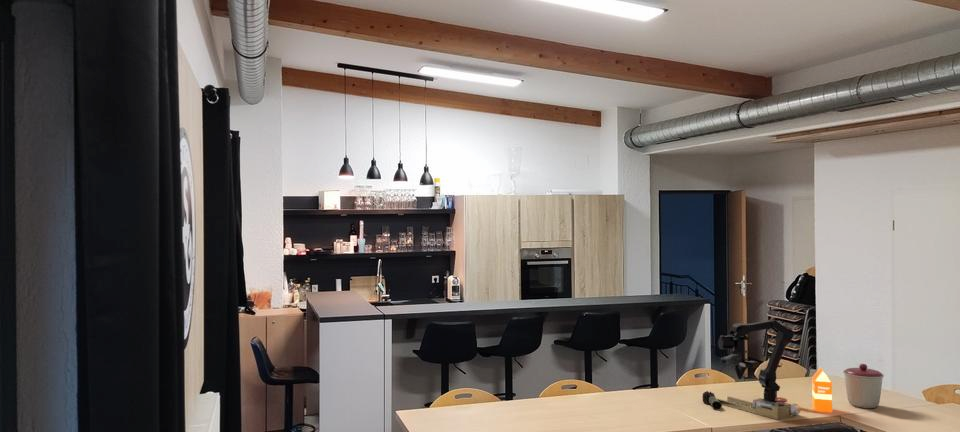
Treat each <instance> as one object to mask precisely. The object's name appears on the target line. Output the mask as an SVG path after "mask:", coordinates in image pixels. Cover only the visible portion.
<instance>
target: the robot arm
mask: <svg viewBox="0 0 960 432" xmlns="http://www.w3.org/2000/svg"><path fill="white" fill-rule="evenodd" d="M768 329H771V330H772V331H774V332H775V333H776V334H775V344H774V347H773V349H772V351H771V354H770V357H769V360H768V363H767V365H766V367H765V368H764V369H760V371H759V374H758V375H757V377H758V379H757V380H758V383H759V384H760V385H761V388H763V398H761V399H762V400H764V401H768V402H772V403H775V402H778V401H776V398H778V392H779V391H780V389H781V386H780V385H779V384H778V383H777V369H778V367H779V364H780V362H781V360H782V356H783V354H784V352H785V349H786V346H787V345H788V344H790V343H791V341H792V340H793V338H794V337H795V333H794V330H793V329H791V328H789V327H786V326H785V325H783V324H781V323H780V322H778V320H775V319H771V318H770V319H767V320H762V321H756V322H751V323H744V322H743V323H738V322H737V323H734V324H732V326H731V329H730V330H729V332H728V333H727V335H720V336H719V338H718V341H717V346H718V348H719V350H731V353H730V354H729V355H728V356H722V357H721V358H720V363H721V364H726V365H730V367H732V368H733V369H734V371H735V373H736V376H737V378H738V380H741V379H742V378H743V377H744V373H745V371H746V370H747V369H757V368H759V367H760V364H759V362H758V361H755V360H748V358H746V354H747V353H748V350H746V341H749V340H750V338H749V337H748V336H747V335H749V334H751V333H752V332H758V331H763V330H764V331H765V330H768ZM732 349H733V350H732Z"/></svg>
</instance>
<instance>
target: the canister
mask: <svg viewBox="0 0 960 432" xmlns="http://www.w3.org/2000/svg"><path fill="white" fill-rule="evenodd" d="M842 373H843V374H844V380H845V381H844V383H845V389H846V395H847V400H848V403H849V404H850V405H852V406H853V407H856V408H863V409H876V408H877V407H878V406H879V405H880V402H881V394H882V387H883V385H882V384H883V378H884V377H885V374H884V373H882V372H880V371H879V370H876V369H873V368H868V365H867V364H866V363H860V364H859V365H858V367H849V368H846V369H844V370H842Z"/></svg>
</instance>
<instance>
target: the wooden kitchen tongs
mask: <svg viewBox="0 0 960 432" xmlns="http://www.w3.org/2000/svg"><path fill="white" fill-rule="evenodd" d="M717 400H718V401H719V402H720V403H721V404H722V406H726V407H728V408H729V407H730V408H732V407H733V409H736V408H737V410H740V409H741V411H743V410H744V412H747V411H748V413H750V412H752V413H751V414H754V413H755V415H758V414H759V415H758V416H761V415H762V417H765V416H766V417H765V418H769V419H772V420H777V421H779V420H783V419H787V418H791V417H792V416H797V415H799V414H800V413H801V407H800V405H798V404H797V403H789V402H788V399H787V398H785V397H777V398H776V401H778V404H777V405H773V406H772V410H770V409H766V408H762V407H759V406H756V407H755V408H752V407H753V401H747V400H745V399H740V398H736V397H733V396H727V399H725V400H724V399H722V398H721V399H720V398H717ZM738 403H739V404H738ZM741 404H743V405H741ZM745 405H747V406H745ZM749 406H751V407H749Z"/></svg>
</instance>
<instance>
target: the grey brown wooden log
mask: <svg viewBox="0 0 960 432" xmlns="http://www.w3.org/2000/svg"><path fill="white" fill-rule="evenodd" d="M717 399H718V398H717V397H716V395H715V393H714V392H712V391H708V390H706V391H704V392H703V393H702V402H703V403H704V404H705V405H711V407H712V408H713V409H714V410H721V409H722V407H723V405H722V404H721V403H720V402H719V401H718V400H717Z"/></svg>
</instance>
